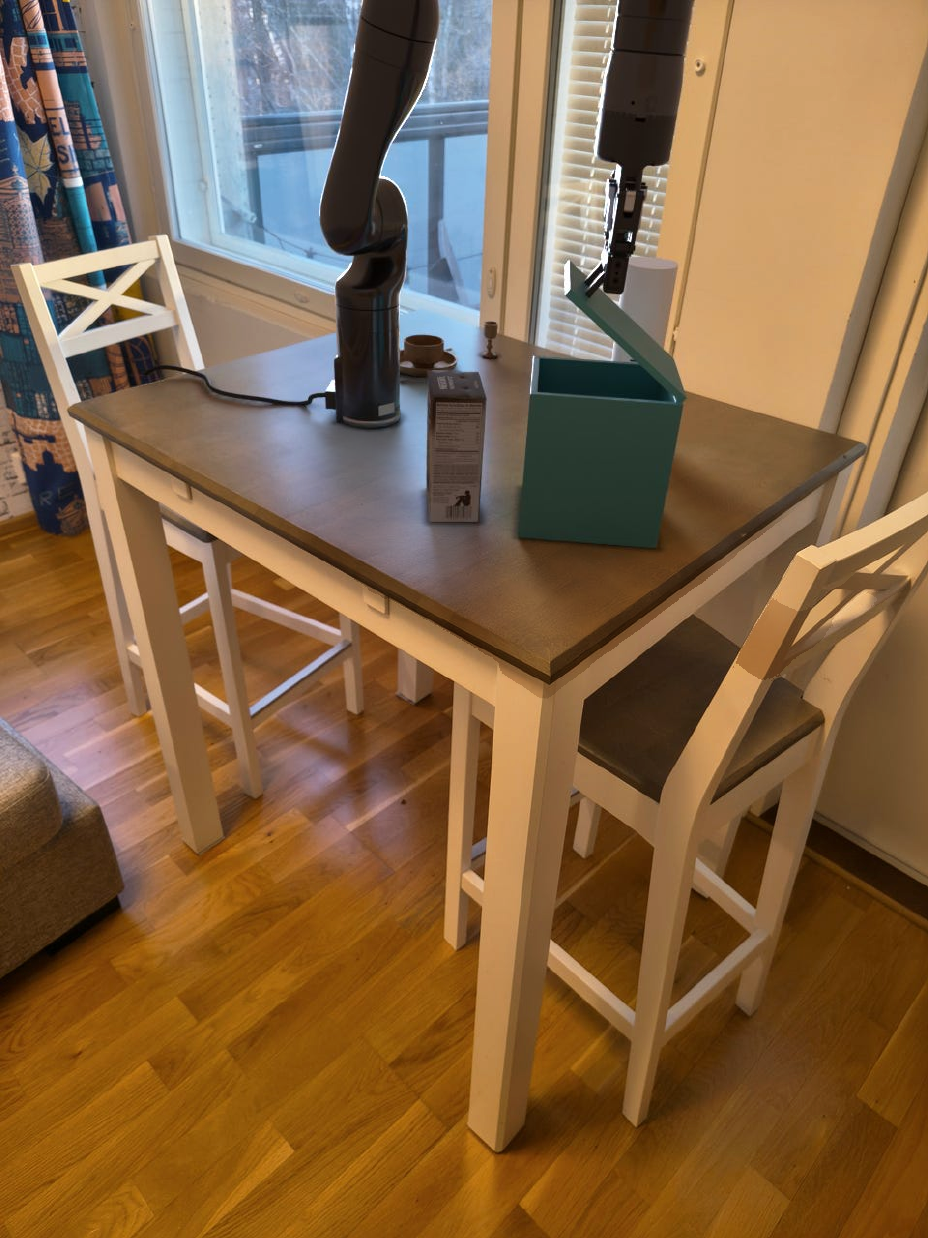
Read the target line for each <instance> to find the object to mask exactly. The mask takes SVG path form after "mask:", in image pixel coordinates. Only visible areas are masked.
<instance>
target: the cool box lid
mask: <svg viewBox="0 0 928 1238" xmlns="http://www.w3.org/2000/svg"><path fill="white" fill-rule="evenodd" d="M607 256H608V255H607V251H606V249H605V250H604V249H603V251H602V253H601V260H600V262H599V263H598V264H597V265H596V267H595V268H594V269H593V270H592V271H591V272H590V273H589V274H588V276H587V275H586V274H585V273H584V272H583V271H582V270H581V269H580V268H579V267H578V266H577V265H575V264H574V263H573V262H572V261H571V260H570V259H568V261H567V262H566V263H565V264H564V296H565V297H566V298H567V299H568V300H569V301H570V302H571V303H572V304H573V305H574V306H575V307H577V308H578V309H579V310H580V311H581V312H582V313H583V314H584V315H585V316H587V318H589V319H590V321H592V322H593V323H594V324H595V325H596V326H597V327H598V328H599V329H600V330H601V331H603V332H604V333H605V334H606V335H607V336H608V337H609V338H610V339H611V340H612V341H613V342H614V341H615V342H616V343H617V344H618V345H619V346H620V347H621V348H622V349H623V350H624V351H625V352H626V353H628V354H629V355H630V356H631V357H632V358H633V359H634V360H635V361H636V362H637V363H638V364H639V365H640V366H642V367H643V368H644V369H645V370H646V371H647V372H648V373H649V374H650V375H651V376H652V377H653V378H655V379H656V380H657V381H658V382H659V383H660V384H661V385H662V386H663V387H664V388H665V389H666V390H667V391H669V392H670V393H671V394H672V395H673V396H674V397H675V398H676V399H677V400H678V401H679V402H680V403H683V402H685V401H686V400H687V398H688V397H687V394H686V391H685V388H684V385H683V382H682V379H681V376H680V374H679V370H678V367H677V364H676V361H675V358H674V357H673V356H672V355H671V354H669V352H668V351H667V350H665V348H664V349H663V348H662V347H661V346H660V345H659V344H658V343H657V342H656V341H655V340H654V339H652V338H651V337H650V336H649V335H648V334H647V333H646V332H645V331H644V330H643V329H642V328H641V327H640V326H639V325H638V324H637V323H636V322H635V321H633V320H632V319H631V318H630V317H629V316H628V315H627V314H626V313H625V312H624V311H623V310H622V309H621V308H620V307H619V304H617V303H616V302H614V300H613V299H612V298H610V297H609V296H608V295H607V293H605V292H604V291H603V289H601V286H603V282H604V276H605V269H606V262H607ZM603 270H604V271H603ZM602 271H603V273H602V274H601V272H602ZM683 404H684V403H683Z"/></svg>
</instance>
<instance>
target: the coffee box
mask: <svg viewBox="0 0 928 1238" xmlns="http://www.w3.org/2000/svg"><path fill="white" fill-rule="evenodd" d="M427 378H428V379H427V403H426V404H427V406H426V407H427V408H426V410H427V411H426V415H427V416H426V475H425V476H426V479H425V480H426V483H425V484H426V485H425V487H426V489H425V490H426V498H427V500H426V501H427V509H428V520H429V522H430V523H478V522H479V521H480V509H481V508H480V507H481V492H482V479H483V464H484V461H483V460H484V451H485V450H484V449H485V448H484V447H485V433H486V419H487V418H486V417H487V399H488V398H487V394H486V391H485V388H484V386H483V381H482V378H481V375H480V372H479V371H461V370H430V371H428V377H427Z"/></svg>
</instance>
